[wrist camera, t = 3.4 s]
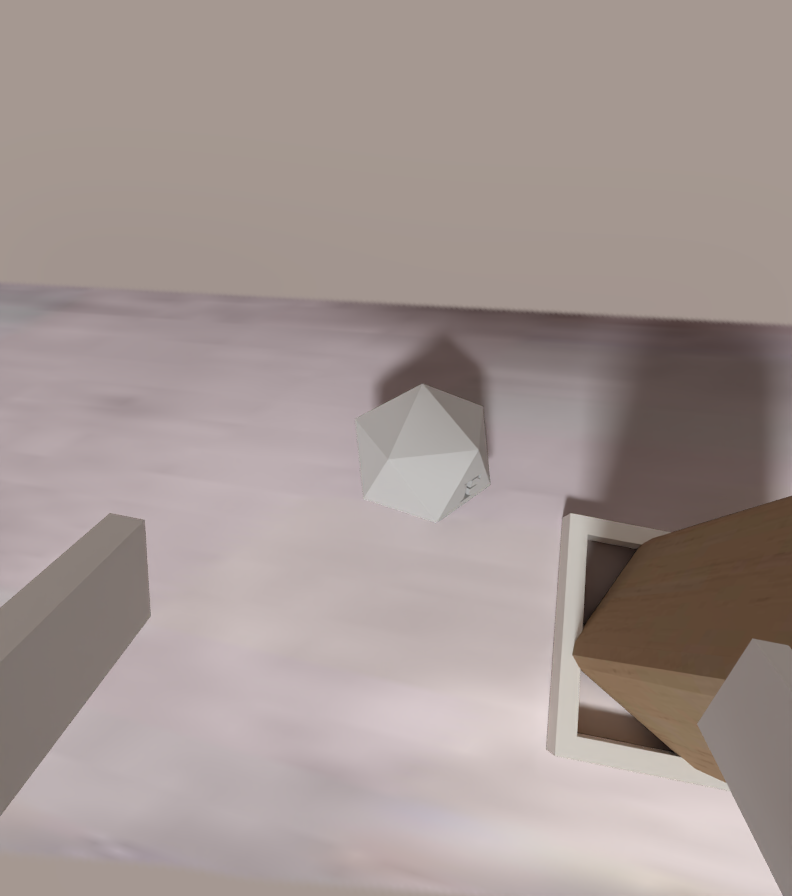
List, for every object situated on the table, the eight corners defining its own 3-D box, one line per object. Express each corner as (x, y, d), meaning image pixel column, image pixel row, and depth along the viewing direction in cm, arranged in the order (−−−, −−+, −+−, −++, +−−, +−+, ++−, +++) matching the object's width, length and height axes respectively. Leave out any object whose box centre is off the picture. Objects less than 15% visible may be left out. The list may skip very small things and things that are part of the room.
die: (357, 535, 34) (454, 555, 26) (310, 419, 32) (398, 403, 24) (439, 483, 38) (542, 486, 31) (401, 378, 36) (500, 353, 29)
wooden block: (772, 638, 32) (1352, 661, 13) (695, 775, 29) (1290, 1057, 10) (641, 535, 34) (979, 423, 15) (557, 654, 31) (843, 702, 12)
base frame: (767, 556, 34) (785, 553, 32) (785, 797, 29) (806, 806, 28) (562, 517, 34) (570, 513, 33) (546, 749, 29) (554, 756, 28)
